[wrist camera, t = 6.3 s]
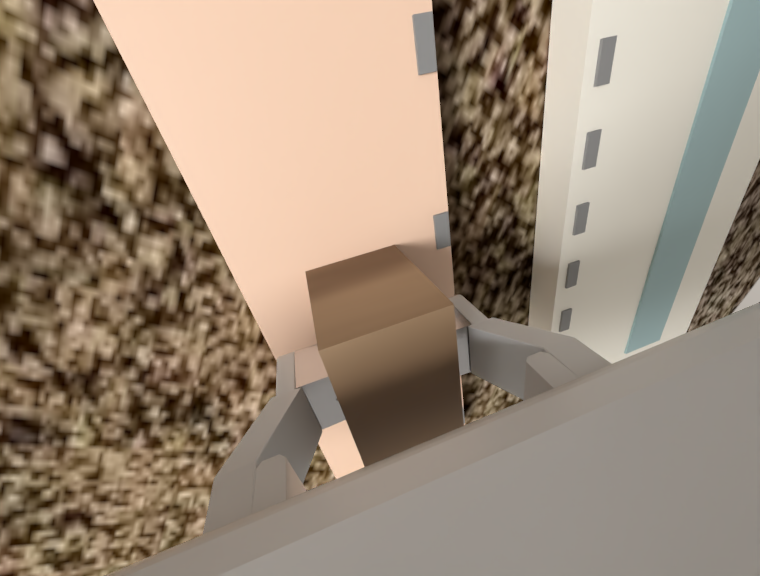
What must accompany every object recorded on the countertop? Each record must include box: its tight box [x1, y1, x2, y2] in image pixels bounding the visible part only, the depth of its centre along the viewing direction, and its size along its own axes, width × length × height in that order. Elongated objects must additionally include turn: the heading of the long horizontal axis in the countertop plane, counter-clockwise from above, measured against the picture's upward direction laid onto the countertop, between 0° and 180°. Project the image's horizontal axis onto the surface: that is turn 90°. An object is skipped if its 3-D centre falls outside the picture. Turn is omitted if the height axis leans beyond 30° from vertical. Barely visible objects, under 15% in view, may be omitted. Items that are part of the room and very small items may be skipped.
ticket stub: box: [93, 0, 465, 479], centre depth 10 cm, size 20×7×6 cm, turn 10°
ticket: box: [528, 0, 760, 364], centre depth 14 cm, size 20×10×2 cm, turn 10°
